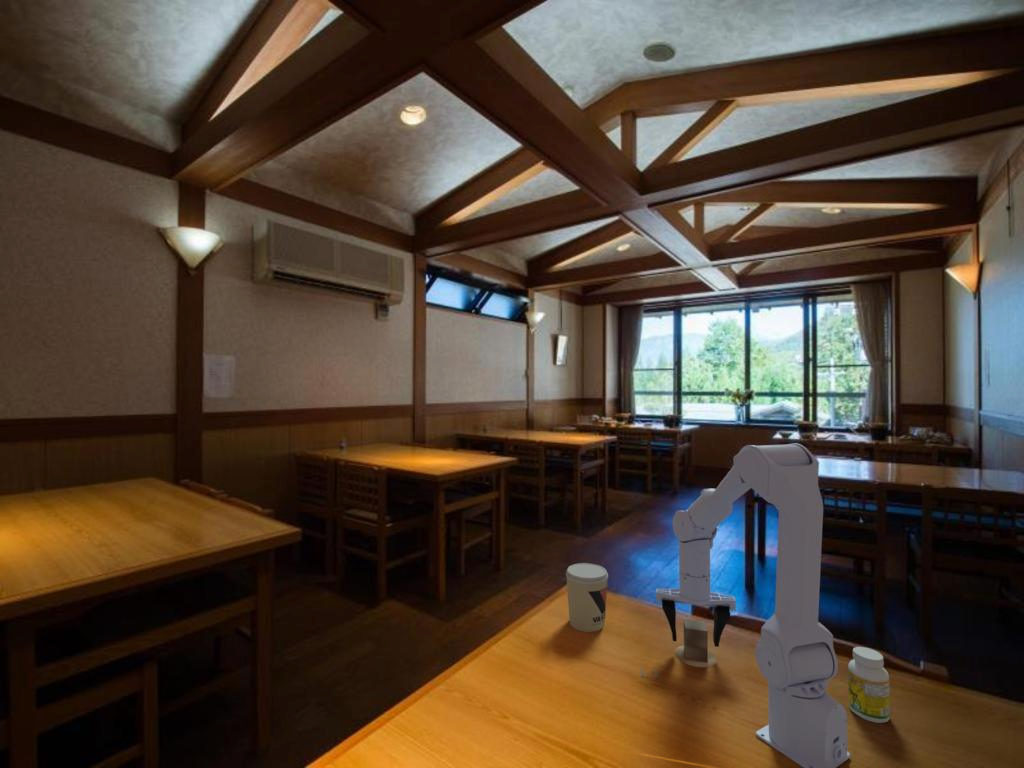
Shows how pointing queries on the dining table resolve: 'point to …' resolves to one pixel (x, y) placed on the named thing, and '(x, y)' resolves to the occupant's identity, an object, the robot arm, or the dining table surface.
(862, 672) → the supplement bottle
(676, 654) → the cork coaster
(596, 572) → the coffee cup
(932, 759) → the dining table surface
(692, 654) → the walnut block
